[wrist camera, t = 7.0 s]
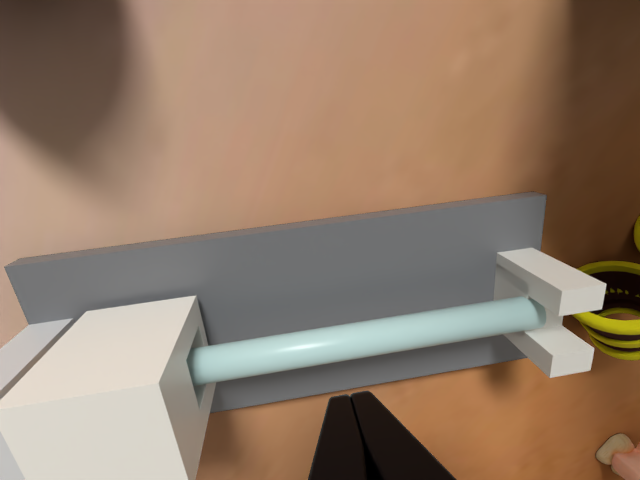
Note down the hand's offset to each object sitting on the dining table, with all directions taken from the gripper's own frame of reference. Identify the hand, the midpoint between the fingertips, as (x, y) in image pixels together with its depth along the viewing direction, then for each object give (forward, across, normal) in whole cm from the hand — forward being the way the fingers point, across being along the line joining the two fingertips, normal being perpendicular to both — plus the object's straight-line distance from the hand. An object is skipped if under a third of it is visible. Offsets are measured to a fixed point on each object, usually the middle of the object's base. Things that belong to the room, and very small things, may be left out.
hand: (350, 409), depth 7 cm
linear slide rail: (+12, +1, +4) cm, 12 cm away
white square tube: (+10, +8, +4) cm, 14 cm away
